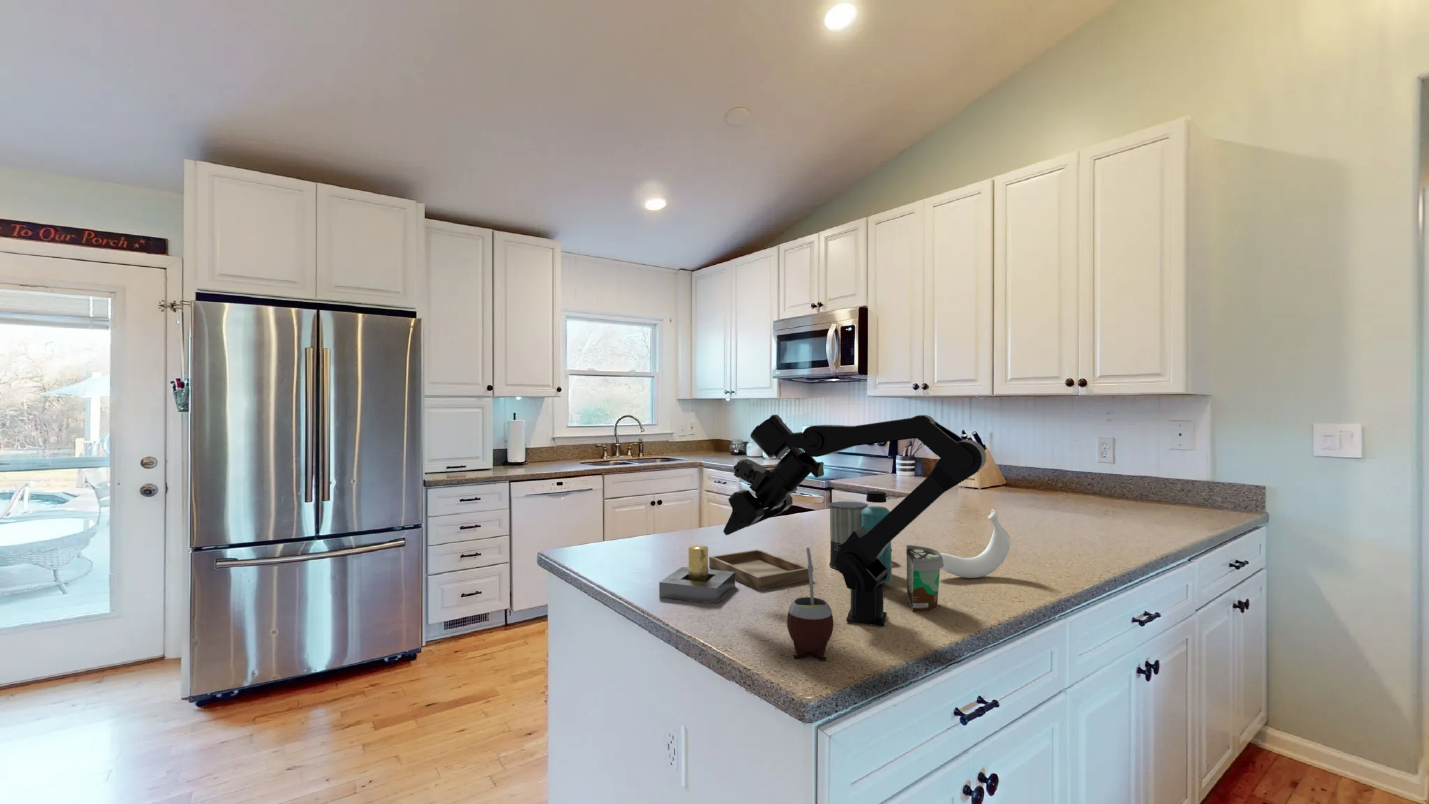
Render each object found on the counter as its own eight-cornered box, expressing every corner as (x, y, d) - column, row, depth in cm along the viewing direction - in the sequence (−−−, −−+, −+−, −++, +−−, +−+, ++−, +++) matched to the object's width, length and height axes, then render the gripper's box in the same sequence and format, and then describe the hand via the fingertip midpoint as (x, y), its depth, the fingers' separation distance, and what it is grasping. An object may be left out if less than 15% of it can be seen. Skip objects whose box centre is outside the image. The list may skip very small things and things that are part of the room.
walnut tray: (810, 579, 133) (810, 568, 133) (757, 589, 126) (757, 577, 126) (758, 559, 150) (758, 549, 150) (709, 567, 143) (709, 556, 143)
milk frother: (825, 569, 141) (825, 505, 141) (835, 554, 156) (835, 496, 156) (889, 575, 137) (889, 509, 137) (893, 558, 152) (893, 498, 152)
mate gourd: (810, 668, 89) (809, 565, 89) (773, 650, 95) (773, 554, 95) (845, 655, 93) (845, 557, 93) (808, 639, 99) (808, 547, 99)
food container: (949, 616, 110) (949, 561, 110) (913, 614, 111) (913, 559, 111) (938, 595, 122) (938, 545, 122) (906, 593, 123) (906, 544, 123)
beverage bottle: (889, 582, 132) (889, 489, 132) (895, 591, 125) (895, 493, 125) (858, 581, 132) (858, 488, 132) (862, 590, 126) (862, 493, 126)
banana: (924, 576, 136) (924, 510, 136) (1001, 571, 140) (1001, 507, 140) (936, 582, 131) (936, 514, 131) (1015, 578, 135) (1015, 511, 135)
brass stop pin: (704, 595, 122) (704, 550, 122) (685, 593, 123) (685, 549, 124) (710, 589, 126) (710, 546, 126) (692, 587, 127) (692, 544, 127)
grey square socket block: (716, 603, 117) (716, 588, 117) (659, 597, 121) (659, 582, 121) (735, 586, 128) (735, 571, 128) (682, 580, 132) (682, 566, 132)
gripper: (777, 442, 127) (731, 493, 133) (737, 448, 111) (686, 505, 116) (814, 482, 124) (765, 532, 129) (778, 494, 107) (723, 551, 112)
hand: (735, 529), depth 122 cm, fingers open, 9 cm apart
